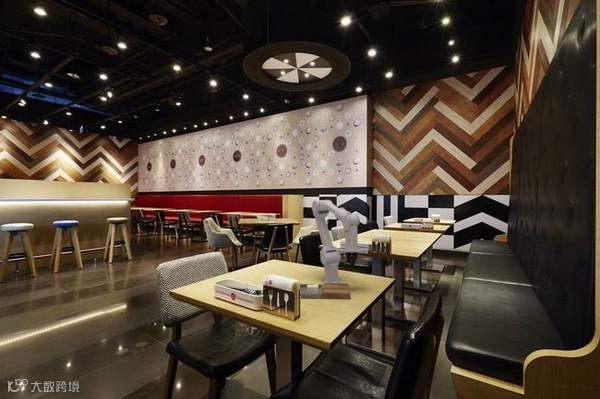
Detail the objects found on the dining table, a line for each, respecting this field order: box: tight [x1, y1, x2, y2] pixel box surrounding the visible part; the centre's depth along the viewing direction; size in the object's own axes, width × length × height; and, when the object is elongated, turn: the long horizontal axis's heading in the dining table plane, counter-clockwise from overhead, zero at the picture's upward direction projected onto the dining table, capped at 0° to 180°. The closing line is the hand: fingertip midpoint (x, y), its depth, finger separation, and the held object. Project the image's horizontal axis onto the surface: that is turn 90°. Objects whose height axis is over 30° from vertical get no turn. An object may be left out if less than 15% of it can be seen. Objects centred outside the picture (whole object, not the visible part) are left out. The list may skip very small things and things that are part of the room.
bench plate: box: [322, 282, 351, 300], centre depth 122 cm, size 14×12×2 cm
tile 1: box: [313, 283, 319, 294], centre depth 120 cm, size 4×4×2 cm
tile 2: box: [307, 285, 314, 292], centre depth 126 cm, size 4×4×2 cm
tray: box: [299, 283, 323, 300], centre depth 123 cm, size 14×12×2 cm
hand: (352, 268), depth 125 cm, fingers closed
